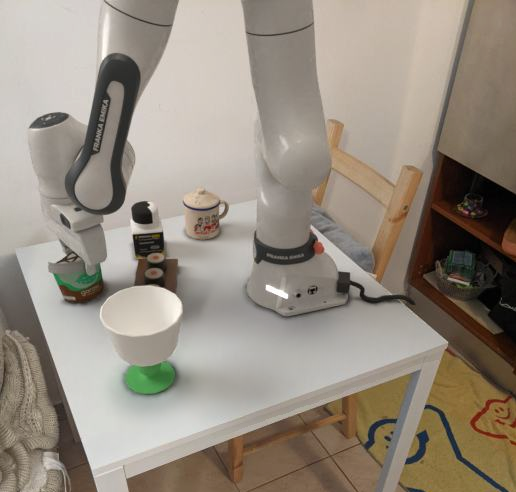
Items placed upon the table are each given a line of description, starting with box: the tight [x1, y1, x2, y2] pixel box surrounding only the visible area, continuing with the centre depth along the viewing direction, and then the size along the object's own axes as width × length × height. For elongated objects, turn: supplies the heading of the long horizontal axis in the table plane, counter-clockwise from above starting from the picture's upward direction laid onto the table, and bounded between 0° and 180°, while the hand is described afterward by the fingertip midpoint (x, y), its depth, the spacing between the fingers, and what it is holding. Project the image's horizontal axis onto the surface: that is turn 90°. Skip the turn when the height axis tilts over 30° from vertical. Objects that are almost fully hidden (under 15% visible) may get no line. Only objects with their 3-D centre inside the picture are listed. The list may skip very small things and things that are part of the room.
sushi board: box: [133, 253, 179, 295], centre depth 120 cm, size 9×20×5 cm, turn 4°
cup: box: [99, 285, 184, 395], centre depth 97 cm, size 14×14×16 cm
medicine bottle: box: [129, 200, 166, 260], centre depth 130 cm, size 7×7×12 cm
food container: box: [47, 251, 105, 304], centre depth 116 cm, size 12×6×10 cm, turn 146°
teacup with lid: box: [182, 187, 230, 241], centre depth 138 cm, size 12×9×12 cm
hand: (79, 263), depth 115 cm, fingers open, 8 cm apart
